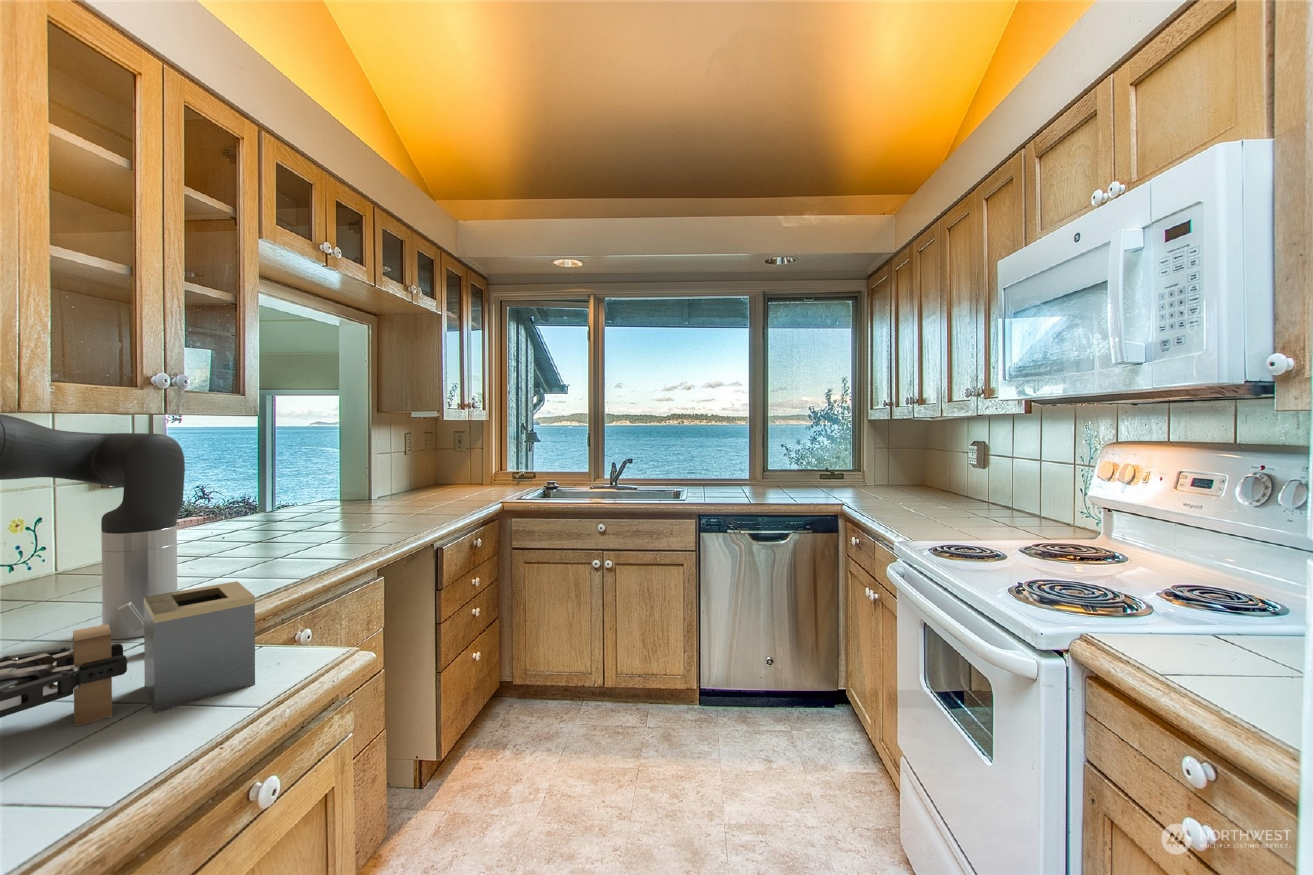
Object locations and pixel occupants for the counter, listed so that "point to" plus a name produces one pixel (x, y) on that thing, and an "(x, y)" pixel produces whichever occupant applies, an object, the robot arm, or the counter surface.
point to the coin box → (198, 644)
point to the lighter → (131, 616)
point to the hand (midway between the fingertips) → (123, 657)
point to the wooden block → (96, 695)
